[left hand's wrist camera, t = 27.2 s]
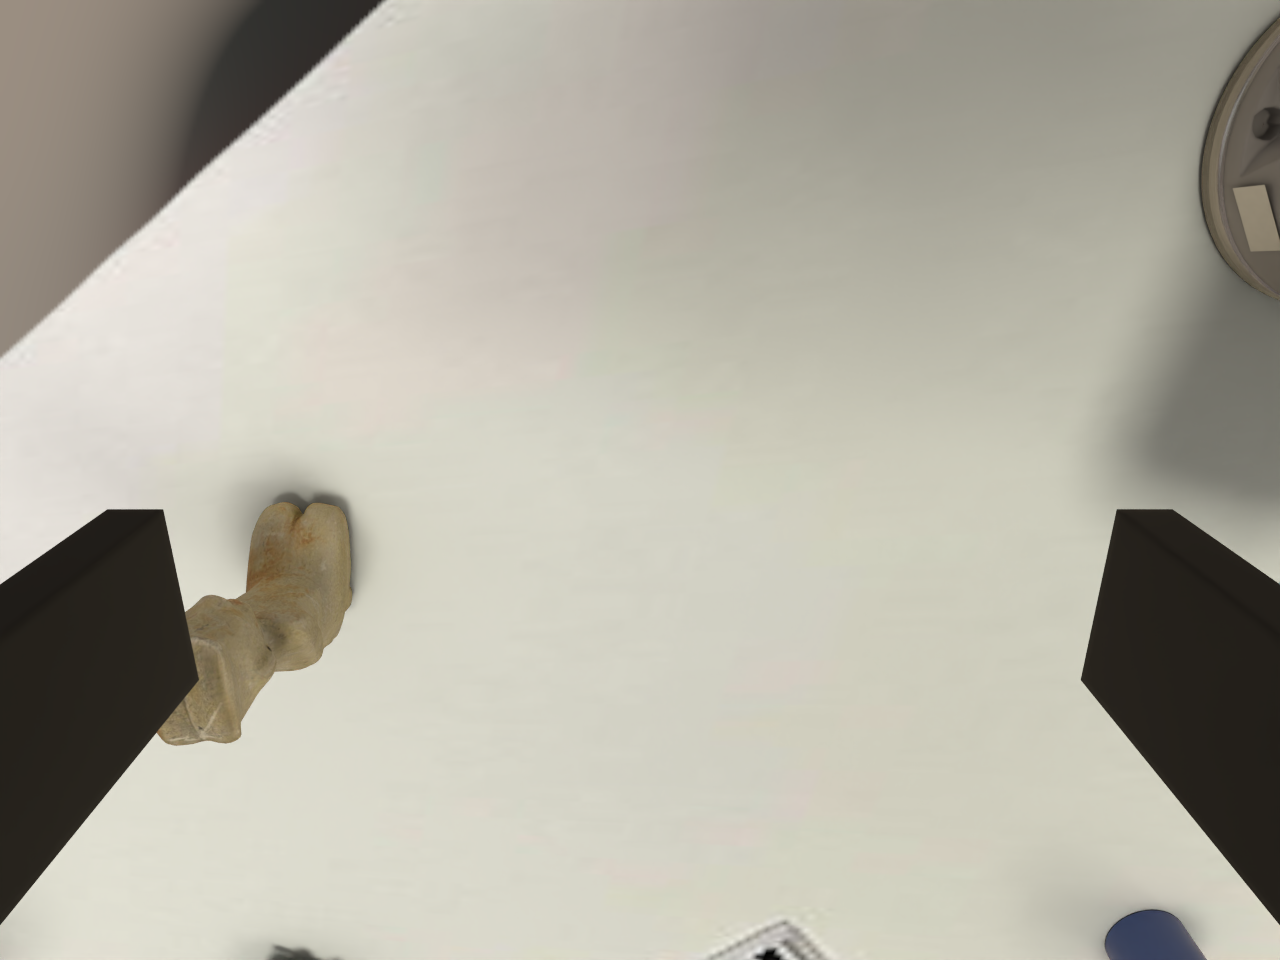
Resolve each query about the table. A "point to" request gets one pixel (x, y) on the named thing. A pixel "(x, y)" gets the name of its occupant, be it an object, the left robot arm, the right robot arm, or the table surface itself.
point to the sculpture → (265, 619)
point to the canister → (1151, 938)
